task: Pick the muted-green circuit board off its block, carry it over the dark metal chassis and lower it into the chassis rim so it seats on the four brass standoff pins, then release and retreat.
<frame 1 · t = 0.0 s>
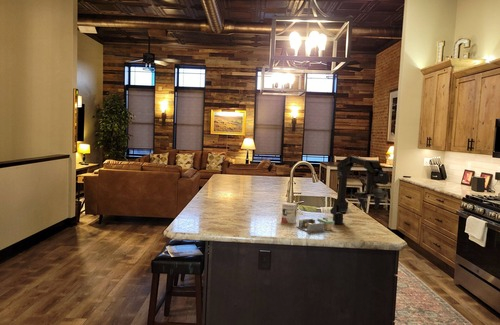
hand: (369, 209, 212), 15 cm above the worktop, fingers open, 9 cm apart
ink box: (288, 222, 238), on the worktop
board: (325, 222, 225), point 3 cm above the worktop, touching block
block: (325, 228, 226), on the worktop
chassis: (310, 229, 220), on the worktop
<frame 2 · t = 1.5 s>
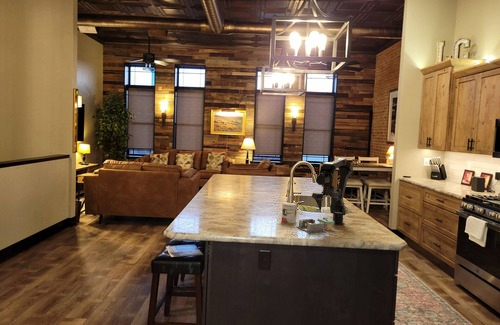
hand: (326, 209, 225), 11 cm above the worktop, fingers open, 9 cm apart
nothing on the worktop moved.
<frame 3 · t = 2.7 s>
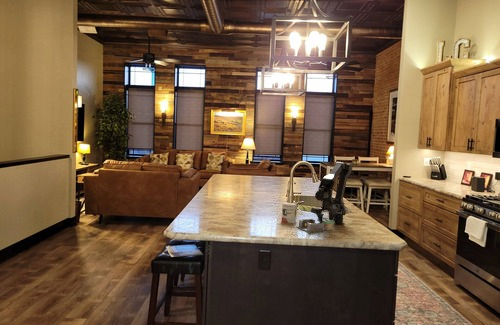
hand: (325, 224, 225), 2 cm above the worktop, fingers closed on board, 6 cm apart
board: (325, 222, 225), point 3 cm above the worktop, touching gripper, block
everything else where it was.
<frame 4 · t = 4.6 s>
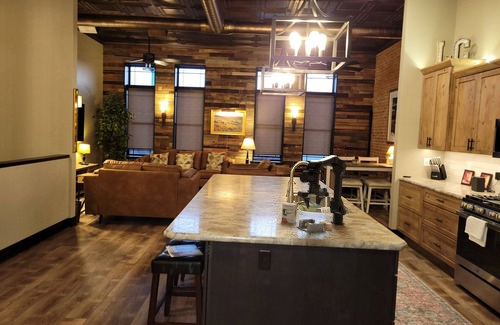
hand: (312, 208, 219), 13 cm above the worktop, fingers closed on board, 6 cm apart
board: (312, 206, 219), point 14 cm above the worktop, touching gripper
everything else where it was.
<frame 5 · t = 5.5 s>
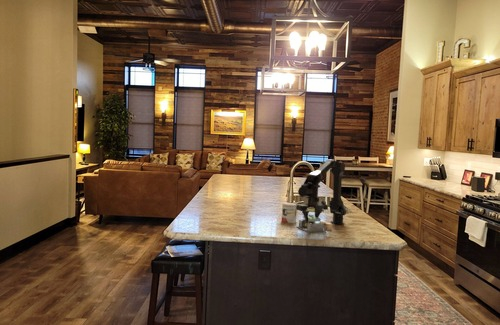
hand: (311, 221, 220), 5 cm above the worktop, fingers closed on board, 6 cm apart
board: (311, 219, 220), point 6 cm above the worktop, touching gripper
everything else where it was.
when the fingers open (3 cm above the worktop, at t = 6.3 s): board stays where it is, resting on chassis.
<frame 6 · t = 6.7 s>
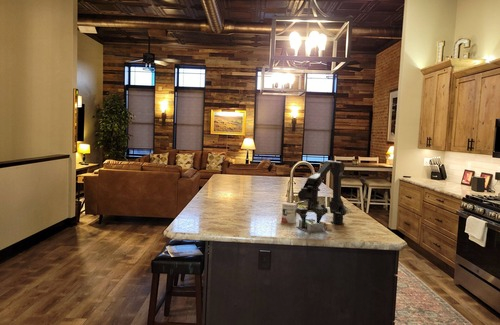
hand: (311, 225, 220), 3 cm above the worktop, fingers open, 9 cm apart
board: (311, 224, 220), point 3 cm above the worktop, touching chassis
everything else where it was.
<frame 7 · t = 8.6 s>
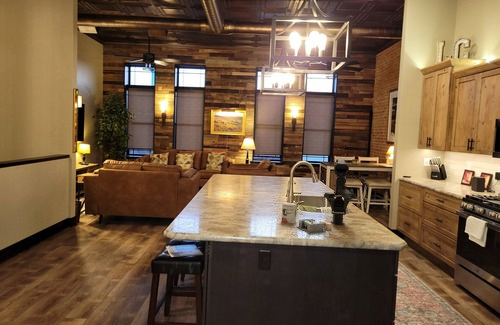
hand: (338, 209, 224), 12 cm above the worktop, fingers open, 9 cm apart
nothing on the worktop moved.
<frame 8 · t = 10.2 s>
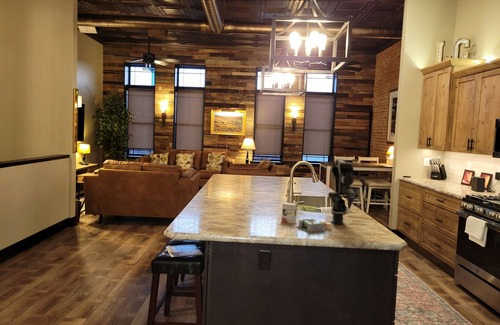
hand: (342, 209, 225), 12 cm above the worktop, fingers open, 9 cm apart
nothing on the worktop moved.
at the end: board 0.0 cm off-centre on the chassis, point 3.0 cm above the chassis's base; board tilted 0°; the gripper is holding nothing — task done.
